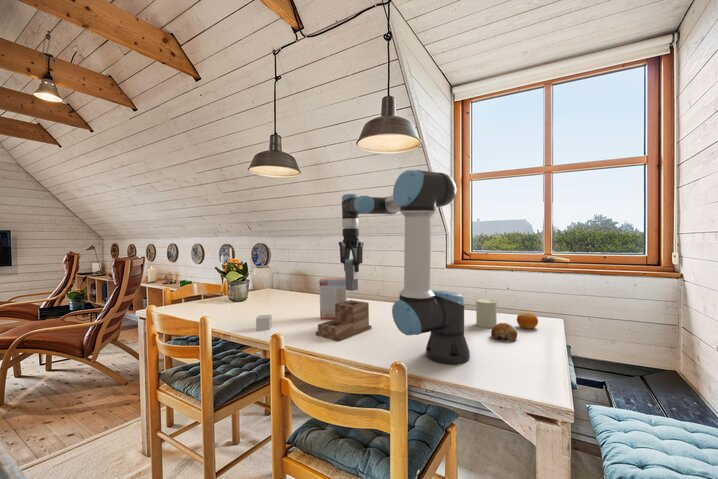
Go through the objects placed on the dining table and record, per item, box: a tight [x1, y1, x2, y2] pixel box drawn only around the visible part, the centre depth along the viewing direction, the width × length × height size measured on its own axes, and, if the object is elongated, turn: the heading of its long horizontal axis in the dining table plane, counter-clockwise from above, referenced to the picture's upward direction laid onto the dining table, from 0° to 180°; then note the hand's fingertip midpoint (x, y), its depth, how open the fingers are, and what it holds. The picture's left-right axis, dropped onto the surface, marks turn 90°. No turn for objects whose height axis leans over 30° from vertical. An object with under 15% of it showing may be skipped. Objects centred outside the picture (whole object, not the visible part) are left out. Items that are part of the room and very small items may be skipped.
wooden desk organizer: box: [315, 299, 373, 342], centre depth 148 cm, size 14×22×12 cm, turn 140°
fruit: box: [516, 312, 539, 329], centre depth 150 cm, size 8×8×8 cm
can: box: [475, 298, 498, 329], centre depth 154 cm, size 9×9×12 cm
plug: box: [344, 258, 359, 292], centre depth 151 cm, size 4×4×14 cm
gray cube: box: [255, 314, 273, 332], centre depth 155 cm, size 6×6×6 cm
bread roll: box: [490, 322, 518, 342], centre depth 136 cm, size 10×10×8 cm
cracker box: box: [318, 277, 348, 320], centre depth 172 cm, size 14×6×21 cm, turn 88°
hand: (351, 278), depth 151 cm, fingers closed on plug, 4 cm apart
